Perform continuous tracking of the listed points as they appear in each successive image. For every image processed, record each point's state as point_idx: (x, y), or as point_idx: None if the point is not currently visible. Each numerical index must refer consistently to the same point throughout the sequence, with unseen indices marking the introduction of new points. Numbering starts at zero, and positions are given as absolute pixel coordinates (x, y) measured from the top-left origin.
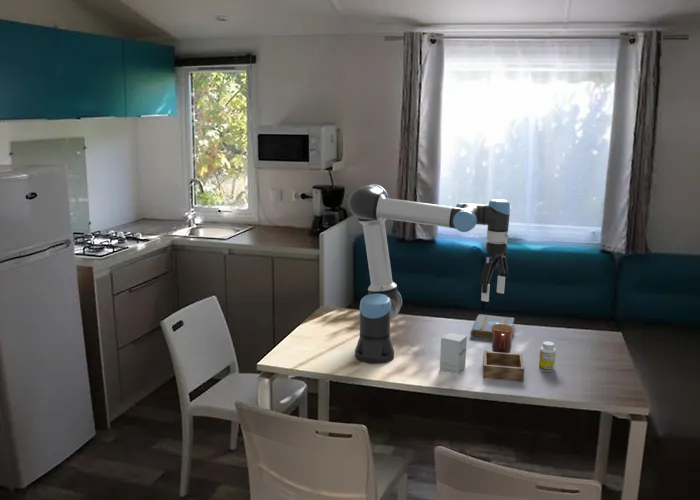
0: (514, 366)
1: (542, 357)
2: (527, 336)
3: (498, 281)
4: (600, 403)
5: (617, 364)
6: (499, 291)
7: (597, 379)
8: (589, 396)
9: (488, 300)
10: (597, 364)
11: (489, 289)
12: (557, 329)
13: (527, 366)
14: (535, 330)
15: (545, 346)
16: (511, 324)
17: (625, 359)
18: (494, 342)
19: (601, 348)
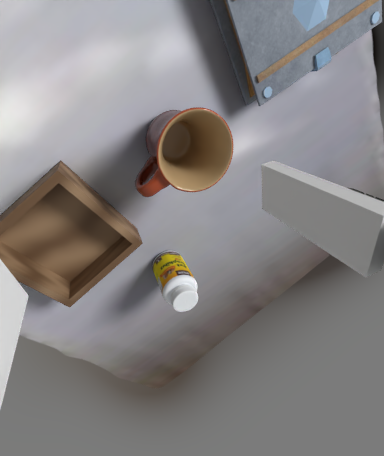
0: (112, 231)
1: (158, 282)
2: (306, 110)
3: (328, 202)
4: (120, 375)
5: (268, 292)
6: (267, 188)
7: (195, 319)
8: (128, 357)
9: (21, 304)
10: (250, 282)
11: (2, 394)
12: (372, 130)
13: (147, 235)
14: (349, 97)
15: (171, 302)
16: (325, 58)
17: (292, 284)
18: (151, 138)
19: None
